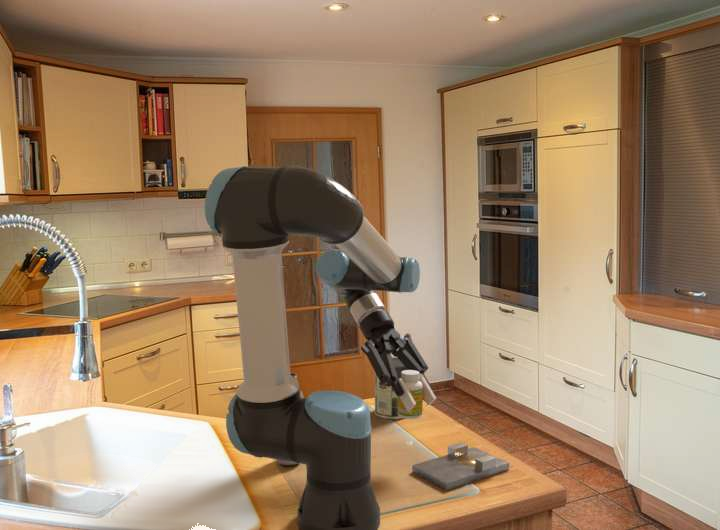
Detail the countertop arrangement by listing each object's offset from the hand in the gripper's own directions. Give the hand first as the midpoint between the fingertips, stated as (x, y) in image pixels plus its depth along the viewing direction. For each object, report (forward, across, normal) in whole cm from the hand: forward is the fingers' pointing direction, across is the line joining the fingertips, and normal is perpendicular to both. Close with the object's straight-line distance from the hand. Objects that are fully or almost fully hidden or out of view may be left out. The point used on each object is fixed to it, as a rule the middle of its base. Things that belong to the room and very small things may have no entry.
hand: (422, 404), depth 147 cm
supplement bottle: (0, 0, -5) cm, 5 cm away
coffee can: (-12, -20, -32) cm, 39 cm away
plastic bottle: (-4, +20, -25) cm, 33 cm away
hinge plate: (+14, -6, -6) cm, 17 cm away
